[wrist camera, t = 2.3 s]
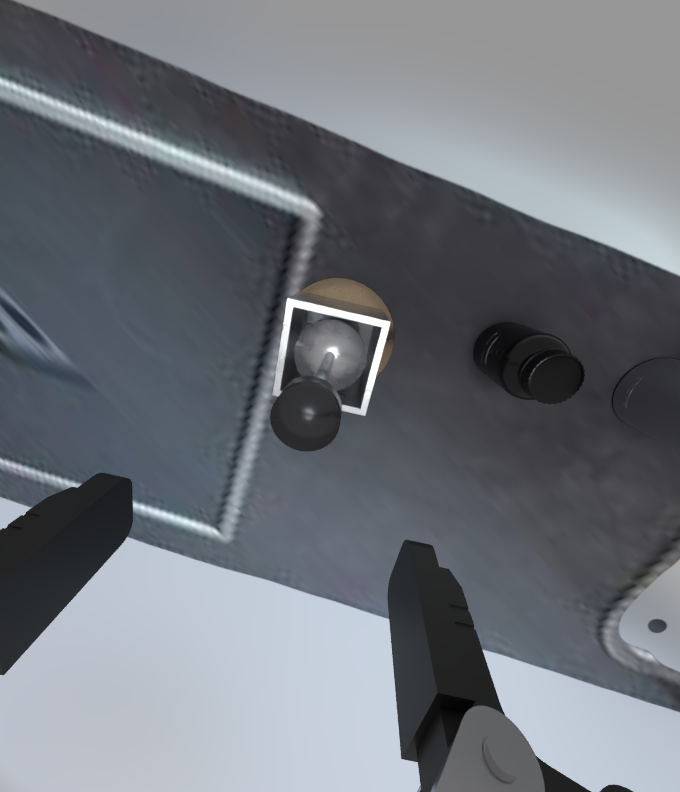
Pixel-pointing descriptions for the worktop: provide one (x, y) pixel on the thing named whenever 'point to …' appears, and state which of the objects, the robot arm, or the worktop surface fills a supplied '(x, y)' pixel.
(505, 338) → the supplement bottle
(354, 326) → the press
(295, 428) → the plunger
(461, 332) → the worktop surface
